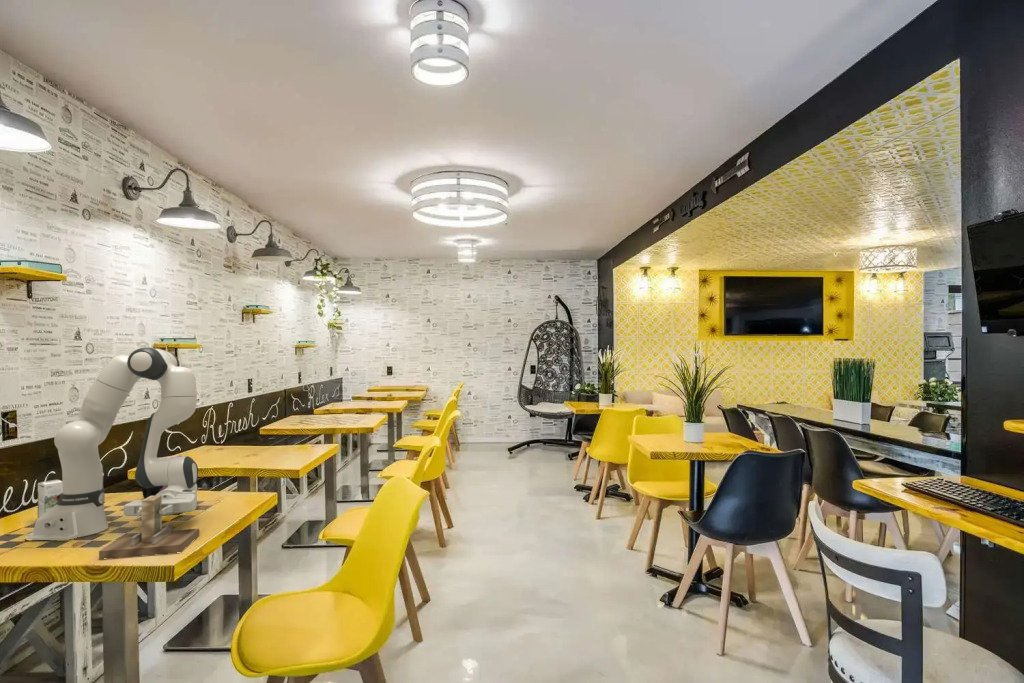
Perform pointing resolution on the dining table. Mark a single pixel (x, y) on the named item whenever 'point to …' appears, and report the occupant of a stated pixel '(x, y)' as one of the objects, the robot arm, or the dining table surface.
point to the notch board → (150, 543)
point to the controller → (150, 491)
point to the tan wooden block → (151, 517)
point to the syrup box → (48, 495)
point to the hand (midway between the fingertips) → (150, 513)
